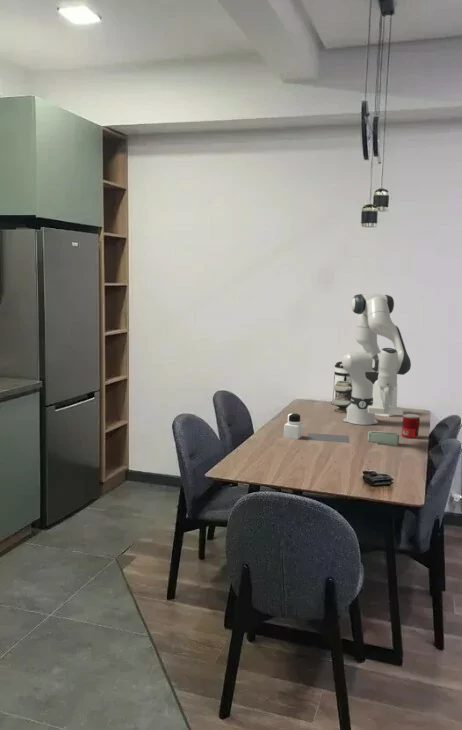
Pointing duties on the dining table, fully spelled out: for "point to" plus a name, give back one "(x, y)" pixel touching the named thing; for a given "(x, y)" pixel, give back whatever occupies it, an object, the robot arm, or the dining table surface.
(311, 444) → the dining table surface
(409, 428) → the canned food
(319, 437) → the mat
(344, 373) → the coffee press
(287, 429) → the medicine bottle
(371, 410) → the lid
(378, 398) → the milk
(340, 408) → the apothecary jar
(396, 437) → the pale green open box
